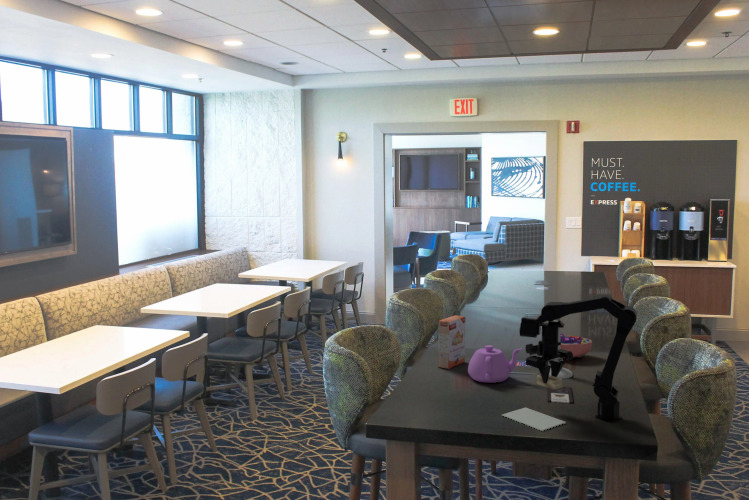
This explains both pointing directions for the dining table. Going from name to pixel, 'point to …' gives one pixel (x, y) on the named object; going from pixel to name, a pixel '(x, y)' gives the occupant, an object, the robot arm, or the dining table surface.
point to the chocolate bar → (560, 395)
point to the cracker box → (451, 341)
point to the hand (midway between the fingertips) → (549, 382)
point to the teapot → (491, 365)
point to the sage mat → (534, 419)
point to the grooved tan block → (550, 382)
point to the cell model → (575, 345)
